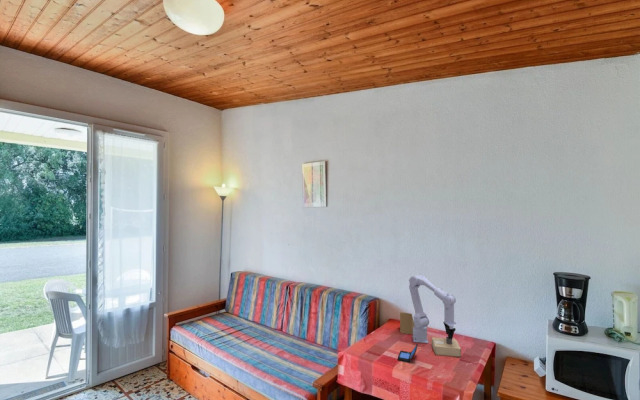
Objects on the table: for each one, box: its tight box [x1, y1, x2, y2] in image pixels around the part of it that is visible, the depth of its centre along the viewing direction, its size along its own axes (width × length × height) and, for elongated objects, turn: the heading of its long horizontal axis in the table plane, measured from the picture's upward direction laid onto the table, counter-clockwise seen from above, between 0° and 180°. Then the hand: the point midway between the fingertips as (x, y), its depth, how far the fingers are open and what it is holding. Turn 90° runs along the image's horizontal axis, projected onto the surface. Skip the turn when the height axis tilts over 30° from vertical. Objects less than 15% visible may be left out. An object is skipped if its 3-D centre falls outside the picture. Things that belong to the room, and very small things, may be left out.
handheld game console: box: [396, 343, 419, 364], centre depth 193 cm, size 12×11×7 cm
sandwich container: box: [399, 311, 416, 336], centre depth 236 cm, size 9×15×15 cm, turn 153°
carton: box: [431, 339, 462, 358], centre depth 202 cm, size 15×14×4 cm
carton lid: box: [431, 336, 462, 351], centre depth 202 cm, size 15×14×4 cm
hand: (449, 336), depth 202 cm, fingers open, 7 cm apart
